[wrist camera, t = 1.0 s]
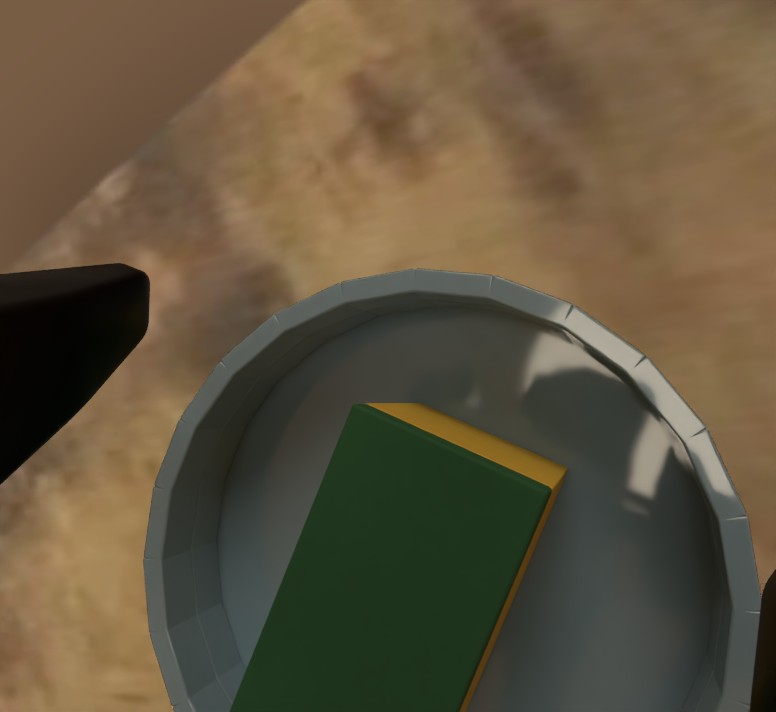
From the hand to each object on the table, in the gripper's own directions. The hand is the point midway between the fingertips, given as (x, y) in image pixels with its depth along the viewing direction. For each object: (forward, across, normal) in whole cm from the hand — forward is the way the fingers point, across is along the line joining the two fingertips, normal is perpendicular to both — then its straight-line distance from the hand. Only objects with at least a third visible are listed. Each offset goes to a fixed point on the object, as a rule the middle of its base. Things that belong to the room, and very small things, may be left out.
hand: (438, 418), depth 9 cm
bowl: (+8, 0, +10) cm, 12 cm away
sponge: (+7, 0, +10) cm, 12 cm away
